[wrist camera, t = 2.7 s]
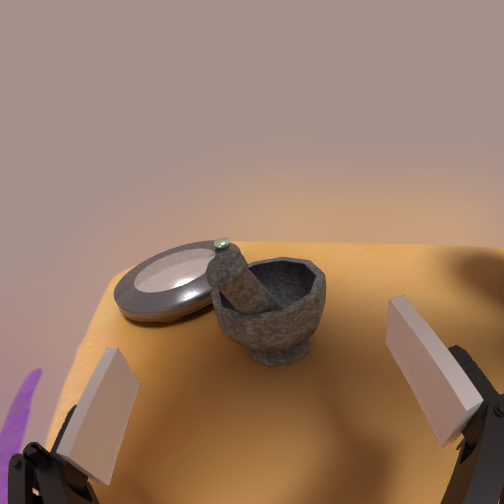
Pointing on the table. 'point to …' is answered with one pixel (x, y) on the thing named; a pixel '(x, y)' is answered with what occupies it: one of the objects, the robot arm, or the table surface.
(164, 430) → the table surface
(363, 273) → the table surface
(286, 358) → the mortar and pestle
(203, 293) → the base
